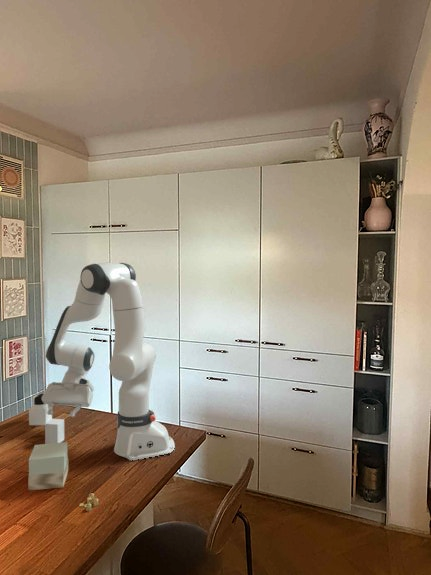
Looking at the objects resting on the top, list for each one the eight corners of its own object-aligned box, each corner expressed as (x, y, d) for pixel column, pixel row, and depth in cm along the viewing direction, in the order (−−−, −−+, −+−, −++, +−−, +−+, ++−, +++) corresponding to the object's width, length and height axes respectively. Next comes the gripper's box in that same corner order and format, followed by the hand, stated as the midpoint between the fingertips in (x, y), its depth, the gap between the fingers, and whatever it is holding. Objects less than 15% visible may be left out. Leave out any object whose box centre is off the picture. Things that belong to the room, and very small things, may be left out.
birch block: (68, 471, 132) (68, 456, 131) (63, 487, 122) (63, 472, 122) (36, 473, 130) (36, 459, 129) (28, 491, 120) (28, 475, 120)
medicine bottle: (52, 419, 174) (52, 392, 173) (45, 425, 167) (45, 397, 166) (35, 419, 174) (35, 392, 173) (28, 425, 167) (28, 397, 166)
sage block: (67, 456, 131) (67, 441, 131) (64, 471, 122) (64, 456, 122) (34, 459, 129) (34, 444, 129) (28, 475, 119) (28, 459, 119)
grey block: (52, 438, 155) (52, 418, 155) (64, 439, 155) (64, 419, 154) (45, 444, 150) (45, 423, 150) (57, 445, 150) (57, 424, 149)
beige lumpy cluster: (92, 498, 117) (92, 492, 117) (102, 505, 114) (102, 499, 114) (76, 507, 113) (76, 500, 113) (87, 514, 110) (87, 507, 110)
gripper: (46, 378, 164) (32, 409, 155) (93, 381, 161) (81, 413, 152) (52, 385, 169) (39, 416, 160) (97, 388, 166) (87, 420, 157)
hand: (60, 415), depth 156 cm, fingers open, 8 cm apart
